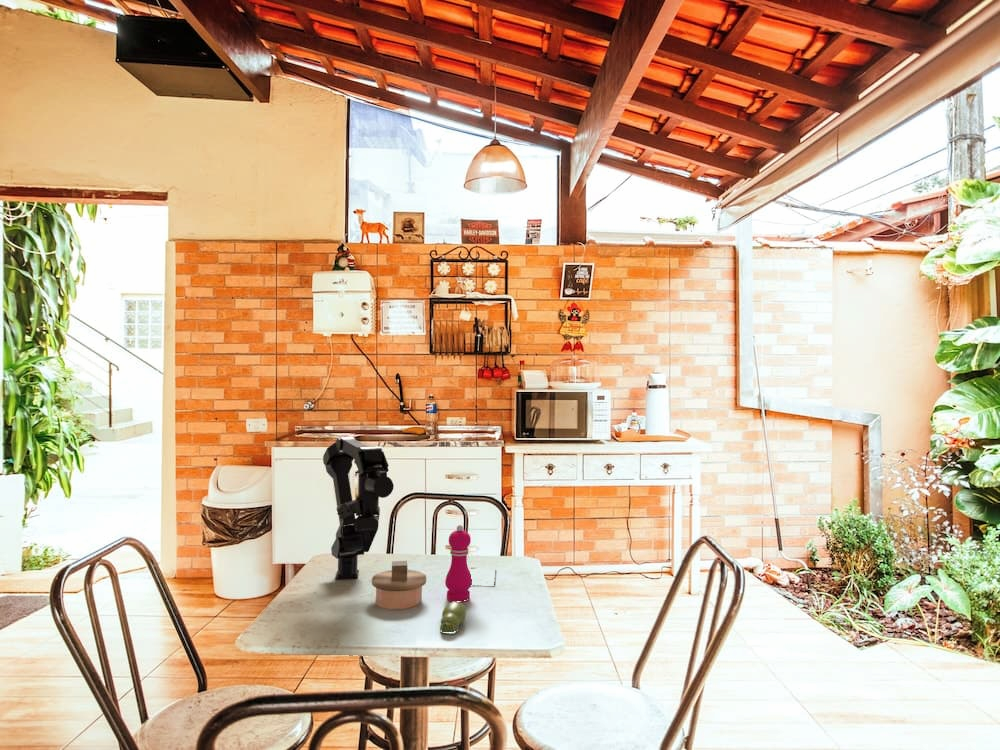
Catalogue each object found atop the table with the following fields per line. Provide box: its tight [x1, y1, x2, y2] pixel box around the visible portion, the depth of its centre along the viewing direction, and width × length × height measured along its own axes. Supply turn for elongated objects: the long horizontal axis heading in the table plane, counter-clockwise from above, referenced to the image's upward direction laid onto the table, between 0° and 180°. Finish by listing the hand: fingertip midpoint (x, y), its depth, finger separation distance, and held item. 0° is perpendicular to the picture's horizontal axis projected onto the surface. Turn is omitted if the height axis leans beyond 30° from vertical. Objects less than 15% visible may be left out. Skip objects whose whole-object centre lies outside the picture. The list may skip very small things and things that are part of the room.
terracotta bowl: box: [375, 586, 423, 610], centre depth 162 cm, size 12×12×5 cm
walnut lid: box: [371, 560, 427, 591], centre depth 162 cm, size 14×14×5 cm
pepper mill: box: [444, 524, 472, 602], centre depth 164 cm, size 7×7×20 cm
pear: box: [439, 601, 467, 632], centre depth 145 cm, size 6×5×10 cm
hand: (367, 547), depth 169 cm, fingers open, 9 cm apart
